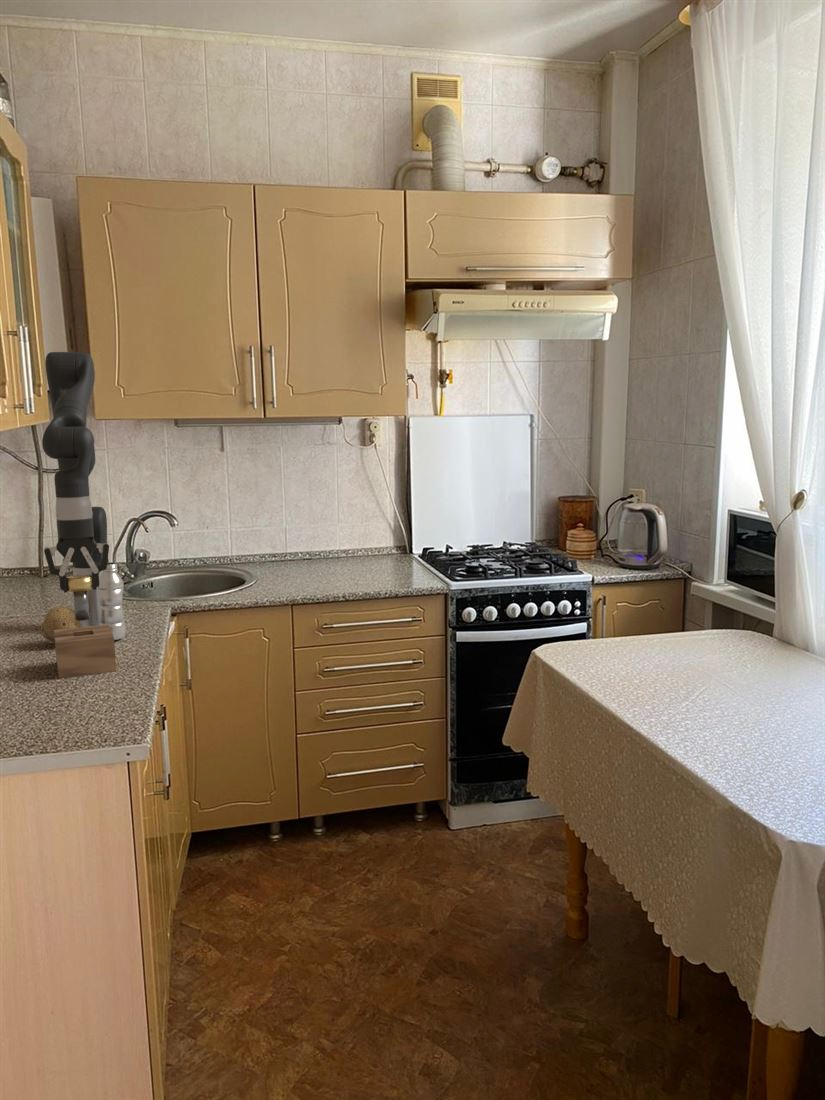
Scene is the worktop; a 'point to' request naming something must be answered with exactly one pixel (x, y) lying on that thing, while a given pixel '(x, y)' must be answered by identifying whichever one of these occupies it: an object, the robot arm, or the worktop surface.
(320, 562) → the worktop surface
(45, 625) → the natural sponge
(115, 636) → the plastic bottle
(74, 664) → the block
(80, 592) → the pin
